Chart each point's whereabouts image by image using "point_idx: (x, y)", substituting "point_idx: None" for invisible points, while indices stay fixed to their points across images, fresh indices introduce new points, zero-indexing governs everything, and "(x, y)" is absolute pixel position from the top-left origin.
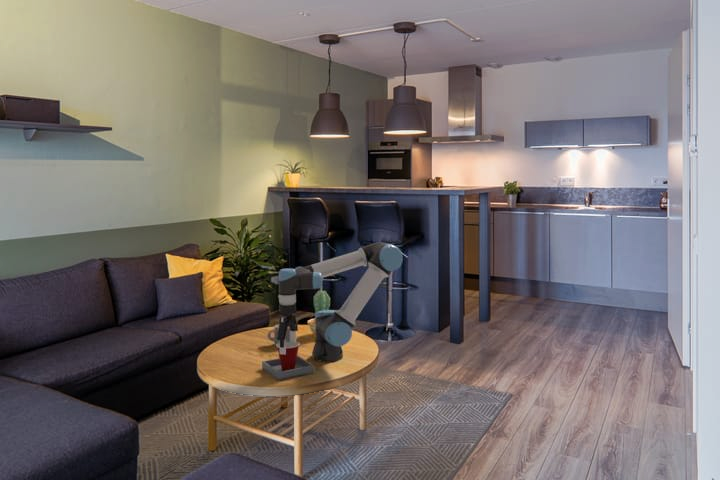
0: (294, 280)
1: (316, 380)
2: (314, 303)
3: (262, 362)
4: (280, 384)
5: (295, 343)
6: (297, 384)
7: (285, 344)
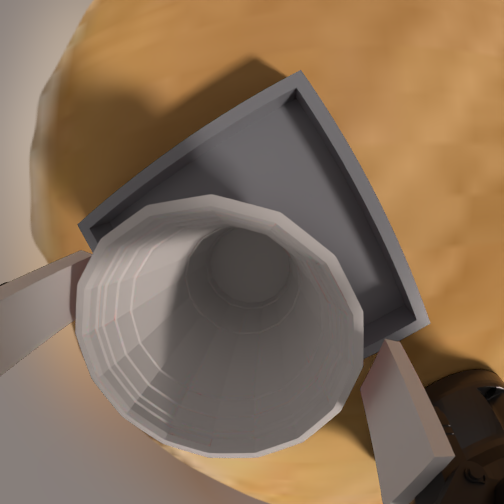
0: None
1: None
2: None
3: (295, 75)
4: (67, 235)
5: (307, 416)
6: None
7: (24, 347)
